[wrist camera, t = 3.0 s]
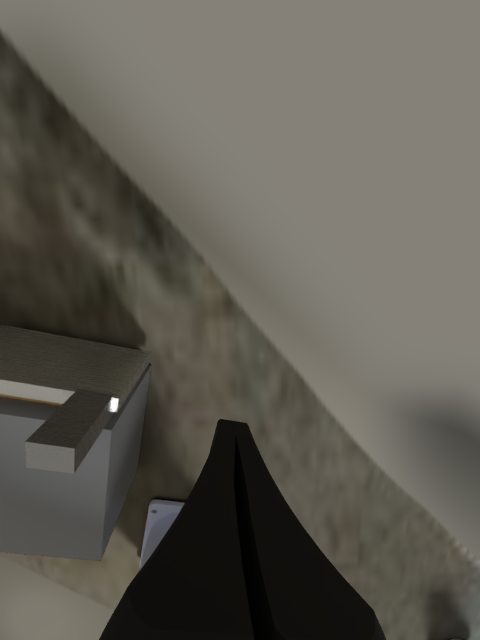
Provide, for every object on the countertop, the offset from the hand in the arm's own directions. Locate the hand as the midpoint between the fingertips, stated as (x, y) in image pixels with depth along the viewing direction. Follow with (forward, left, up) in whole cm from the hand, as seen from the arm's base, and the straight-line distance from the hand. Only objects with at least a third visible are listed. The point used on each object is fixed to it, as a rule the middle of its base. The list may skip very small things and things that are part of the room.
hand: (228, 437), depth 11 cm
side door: (0, +10, -6) cm, 11 cm away
